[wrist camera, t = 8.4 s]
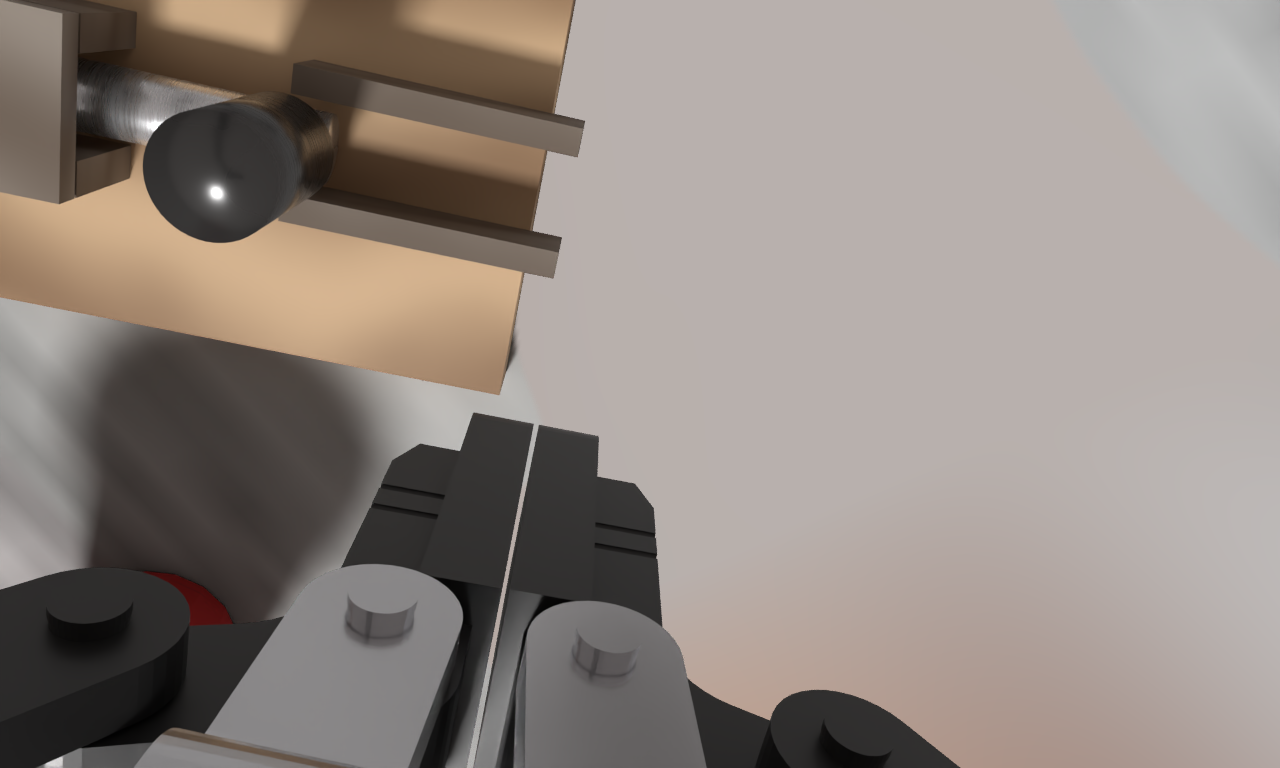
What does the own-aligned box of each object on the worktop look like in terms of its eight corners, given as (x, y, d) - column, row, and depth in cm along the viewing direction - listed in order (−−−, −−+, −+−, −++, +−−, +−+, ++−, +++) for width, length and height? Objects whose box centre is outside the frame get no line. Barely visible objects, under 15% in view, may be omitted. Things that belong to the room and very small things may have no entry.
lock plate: (-119, -228, 28) (-309, -288, 22) (618, -48, 30) (620, -59, 24) (-100, 253, 33) (-251, 307, 27) (533, 379, 35) (518, 453, 29)
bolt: (22, 21, 28) (-168, 27, 21) (361, 96, 29) (284, 126, 22) (21, 127, 29) (-160, 166, 22) (349, 197, 30) (272, 255, 23)
